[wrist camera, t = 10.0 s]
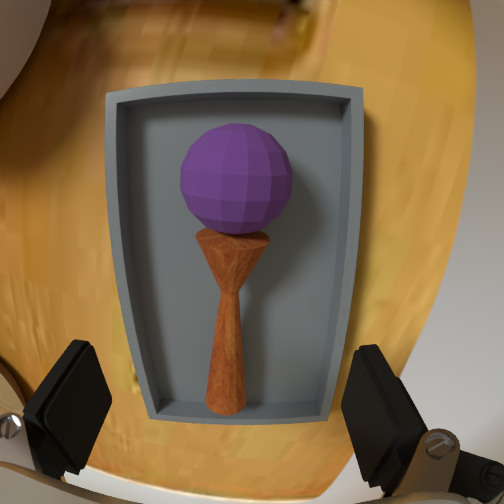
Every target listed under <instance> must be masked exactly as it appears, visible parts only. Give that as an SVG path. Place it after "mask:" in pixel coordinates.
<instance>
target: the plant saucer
mask: <svg viewBox="0 0 504 504" xmlns="http://www.w3.org/2000/svg"><path fill="white" fill-rule="evenodd" d="M25 406H26V403H25V400H24V397H23V394H22V392H21V389H20V388H19V386H18V384H17V382H16V381H15V379H14V378H13V376H12V375H11V373H10V372H9V371H8V370H7V368H6V367H5V366H4V365H3V364H2V363H1V362H0V416H1V415H2V414H5V413H10V412H12V413H16V414H18V415H20V416H21V417H22V416H23V415H24V413H23V412H22V411H23V409H24V408H25Z"/></svg>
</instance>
